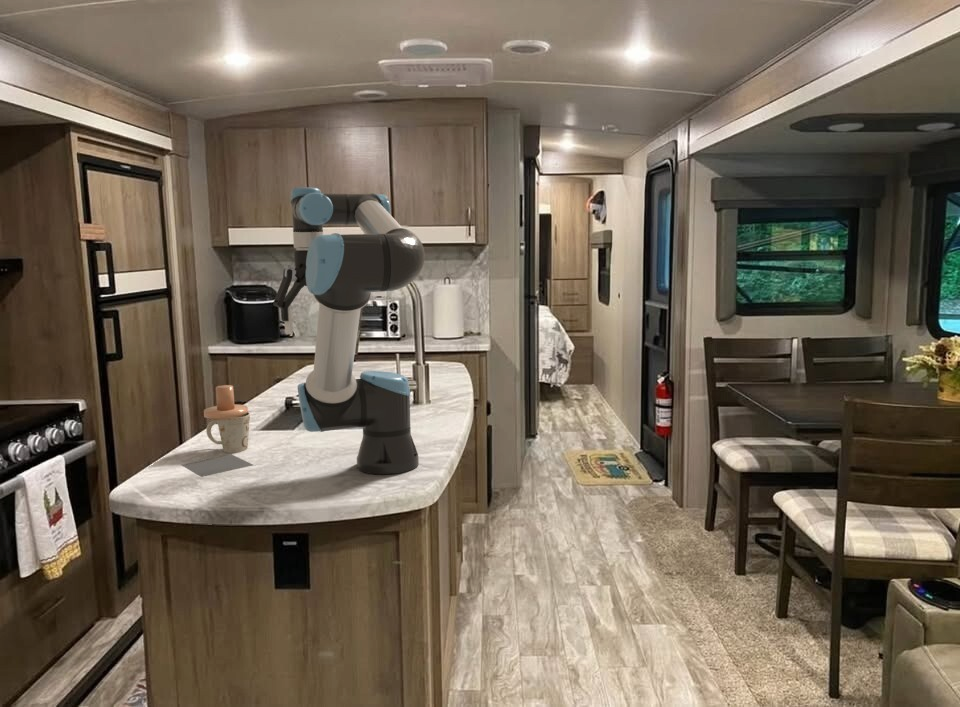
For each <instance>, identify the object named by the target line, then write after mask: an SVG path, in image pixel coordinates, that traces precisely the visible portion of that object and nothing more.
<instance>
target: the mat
mask: <svg viewBox="0 0 960 707" xmlns="http://www.w3.org/2000/svg"><path fill="white" fill-rule="evenodd" d="M181 466H182V467H184V468H185V469H187V470H189V471H191V472H192V473H195V474H196V475H198V476H200V477H201V478H202V477H207V476H211V475H216V474H219V473H225V472H229V471H234V470H238V469H243V468H248V467H252V466H254V464H252V463H251V462H249V461H247V460H244V459H242V458H240V457H238V456H236V455H234V454H233V453H230V454H227V455H222V456H217V457H211V458H207V459H202V460H197V461H192V462H188V463H183V464H181Z"/></svg>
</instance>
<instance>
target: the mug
mask: <svg viewBox="0 0 960 707" xmlns="http://www.w3.org/2000/svg"><path fill="white" fill-rule="evenodd" d="M250 417H251V414H250V412H249V411H248V414H247V415H244V416H241V417H237V418H231V419H211V420H210V421H209V423H208V424H207V426H206V435H207V438H208V439H209V440H210V441H211V442H212V443H214V444H216V445H221V446H222V450H223V452H224V453H229V454H234V453H235V454H236V453H237V454H238V453H241V452H245V451H247V450H248V447H249V446H248V445H249V434H250V433H249V432H250V421H251V420H250ZM214 425H217V427H218V432H219V435H220V440H217V439H216V438H214V436H213V434H212V427H213V426H214Z"/></svg>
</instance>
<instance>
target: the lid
mask: <svg viewBox="0 0 960 707" xmlns="http://www.w3.org/2000/svg"><path fill="white" fill-rule="evenodd" d="M234 390H235V389H234V385H231V384H224V385H222V384H221V385H217V386H215V399H216V405H214V406H210V407H207V408H205V409H203V416H204V418H206V419H209V420H217V419H231V418H237V417H241V416H244V415H247V414H248V412H249V410H248V409H249V408H248V406H247V405H245V404H235V394H234Z"/></svg>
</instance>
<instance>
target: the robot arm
mask: <svg viewBox="0 0 960 707" xmlns="http://www.w3.org/2000/svg"><path fill="white" fill-rule="evenodd" d="M290 194H291V195H290V197H291V200H290V204H291V215H292V216H291V217H292V232H293V233H292V237H293V248H294V249H295V250H294V251H293V256H294V257H293V258H294V259H293V260H294V266H295V267H294V269H291V268H285V269H283V274H282V275H283V276H282V280H281V282H280V285H279V287H278V289H277V293H276V294H275V297H274V300H273V306H274V307H277V308H279V309H280V313H281V314H280V315H281V321H282V322H284V334H286V335H293V334H294V329H293V328H294V326H293V310H292V308H289V307H291V305H292V303H293V302H294V300H295V299H296V297H297V296H298V295H299V293H300V291H301V290H302V289H303V288H304V287H306V289H307V290H308V292H309V293H310V294H312V295H313V298H314V299H315V300H316V302H317V303H318V304H319V305H318V313H317V314H318V315H317V316H318V317H317V328H316V337H315V338H316V339H315V340H316V341H315V349H314V350H315V352H314V363H313V370H312V371H311V372H310V373H308V375H307V377H306V380H305V382H302V383H299V384H298V385H297V394H298V401H299V402H298V403H299V407H300V413H301V418H302V423H303V427H304V429H305V430H306V431H307V432H309V433H310V432H311V433H314V432H315V433H316V432H318V433H319V432H320V433H322V432H323V433H324V432H329V431H331V432H332V431H336V430H337V431H338V430H346V429H356V428H362V438H361V442H360V446H359V450H358V453H357V456H356V468H357V469H358V470H359V471H360V472H363V473H367V474H373V475H392V474H393V475H394V474H400V473H401V474H402V473H405V472H409V471H412V470H414V469H415V468H417V467H419V463H420V462H419V453H418V450H417V447H416V445H415V442H414V439H413V437H412V432H411V401H410V400H411V398H410V396H411V390H410V383H409V379H408V378H407V377H406V376H405V375H403V374H401V373H396V372H391V371H384V370H381V371H380V370H366V371H362V372H361V373H360V374H359V378H355V376H354V375H353V369H354V363H355V362H354V360H355V354H356V345H357V340H358V339H357V338H358V333H359V331H358V330H359V326H360V325H359V324H360V319H361V318H360V317H361V310H362V308H364V307H365V306H366V305H367V304H368V303H369V302H370V299H371V293H378V292H379V293H380V292H393V291H397V290H400V289H403V288H405V287H407V286H408V285H409V284H411V283H412V282H414V280H416V278H417V277H418V276H419V274H420V273H421V271H422V269H423V267H424V264H425V259H426V253H425V249H424V248H425V247H424V245H423V243H422V241H421V239H420V238H419V237H418V236H417V235H416V233H414V232H413V231H412V230H409V229H408V228H404V227H402V225H400V223H399V222H398V221H397V220H396V219H395V218H394V217H393V216H392V214H391V204H390V201H389V197H388V196H387V195H385V194H379V193H373V192H372V193H322V192H321V189H319V187H318V188H317V187H308V186H306V187H295V188H292V189H291V191H290ZM335 225H336V226H340V225H342V226H344V225H345V226H347V225H348V226H358V227H359V228H360V229H361V231H362V232H363V233H359V234H354V233H353V234H350V233H349V234H340V233H338V232H337V233H336V232H335V233H331V234H324V228H323V227H324V226H335ZM294 276H295V278H296V280H294V282H293V285H292V286H291V288H290V285H291V282H292V281H293V278H294ZM289 288H290V289H289ZM288 290H289V291H288Z"/></svg>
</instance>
